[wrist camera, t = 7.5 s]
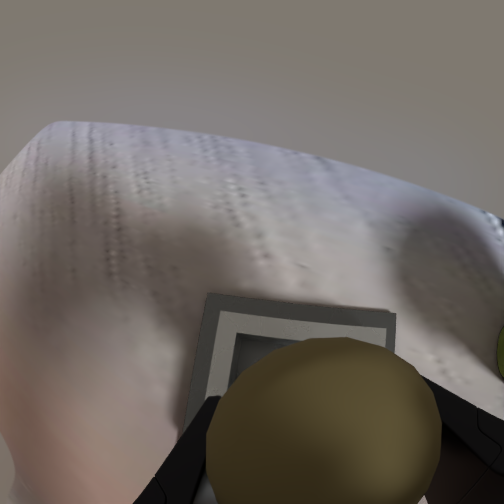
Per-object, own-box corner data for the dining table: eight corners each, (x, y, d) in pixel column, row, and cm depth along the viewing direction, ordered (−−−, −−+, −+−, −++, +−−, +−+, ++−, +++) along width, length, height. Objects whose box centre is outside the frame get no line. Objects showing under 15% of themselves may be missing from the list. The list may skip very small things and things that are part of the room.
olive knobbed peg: (230, 365, 15) (146, 324, 5) (345, 346, 15) (455, 271, 5) (246, 474, 13) (195, 598, 3) (362, 453, 13) (484, 530, 3)
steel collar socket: (369, 493, 16) (384, 509, 13) (178, 473, 18) (162, 486, 15) (393, 314, 22) (411, 302, 18) (209, 294, 23) (198, 279, 20)
